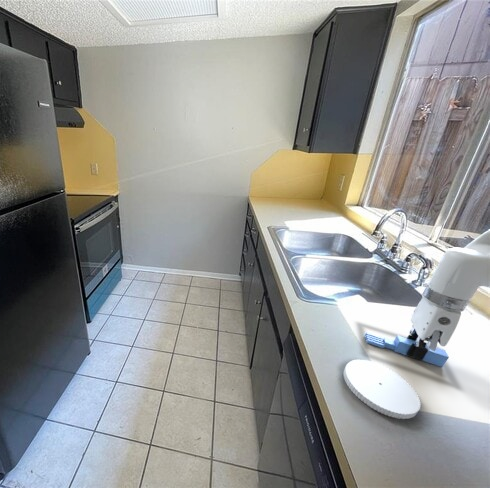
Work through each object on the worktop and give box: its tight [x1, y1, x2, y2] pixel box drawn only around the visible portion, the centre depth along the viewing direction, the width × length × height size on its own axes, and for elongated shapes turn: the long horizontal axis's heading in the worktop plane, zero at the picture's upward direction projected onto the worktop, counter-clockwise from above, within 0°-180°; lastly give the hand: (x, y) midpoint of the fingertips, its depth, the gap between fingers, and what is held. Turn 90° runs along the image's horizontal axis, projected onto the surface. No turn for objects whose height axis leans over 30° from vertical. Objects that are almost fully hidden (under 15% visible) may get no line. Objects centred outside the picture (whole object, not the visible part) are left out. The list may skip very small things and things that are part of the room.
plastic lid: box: [342, 359, 422, 420], centre depth 60 cm, size 14×14×2 cm
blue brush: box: [364, 332, 449, 368], centre depth 71 cm, size 16×4×4 cm, turn 61°
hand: (412, 352), depth 70 cm, fingers closed on blue brush, 2 cm apart
